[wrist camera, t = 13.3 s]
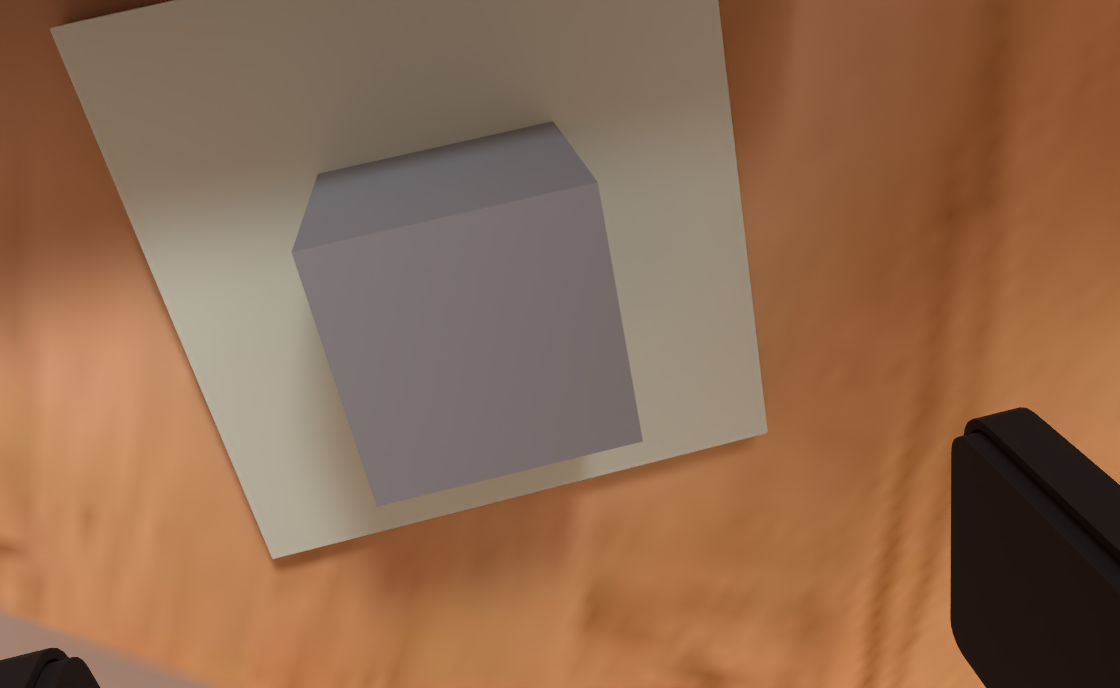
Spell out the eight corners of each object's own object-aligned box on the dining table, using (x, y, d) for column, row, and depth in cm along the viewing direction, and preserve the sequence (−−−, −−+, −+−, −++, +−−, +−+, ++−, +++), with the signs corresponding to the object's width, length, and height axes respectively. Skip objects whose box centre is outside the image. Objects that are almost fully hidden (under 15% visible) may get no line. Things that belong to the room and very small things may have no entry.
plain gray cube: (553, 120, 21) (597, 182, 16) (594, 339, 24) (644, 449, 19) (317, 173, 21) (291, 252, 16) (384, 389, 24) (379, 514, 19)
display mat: (693, -116, 21) (704, -117, 20) (757, 419, 27) (767, 433, 26) (62, 24, 20) (48, 28, 19) (276, 541, 26) (272, 559, 25)
